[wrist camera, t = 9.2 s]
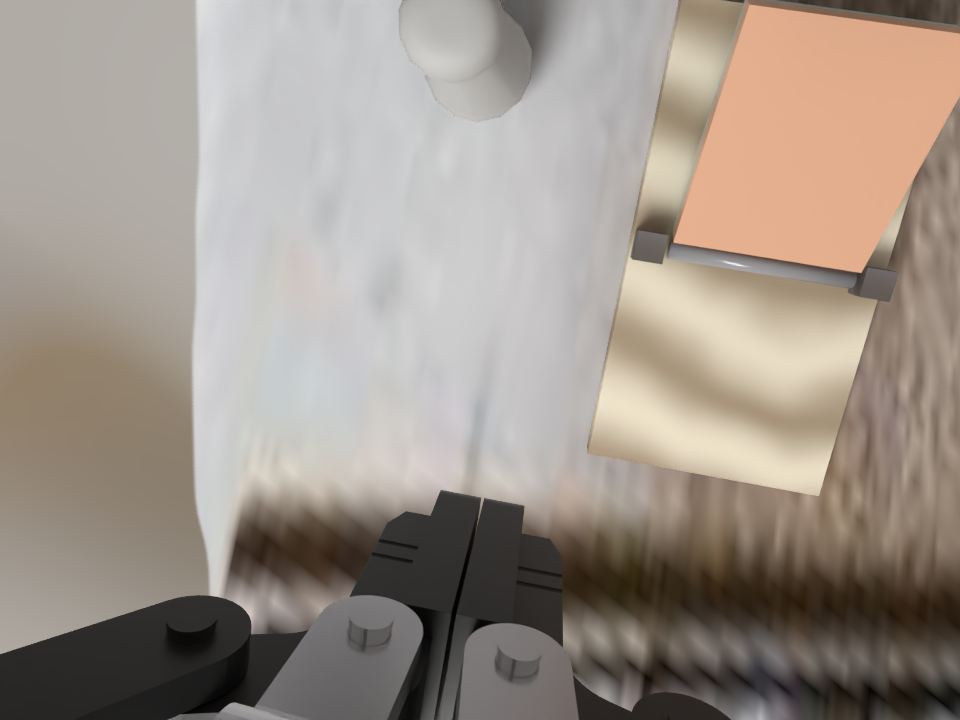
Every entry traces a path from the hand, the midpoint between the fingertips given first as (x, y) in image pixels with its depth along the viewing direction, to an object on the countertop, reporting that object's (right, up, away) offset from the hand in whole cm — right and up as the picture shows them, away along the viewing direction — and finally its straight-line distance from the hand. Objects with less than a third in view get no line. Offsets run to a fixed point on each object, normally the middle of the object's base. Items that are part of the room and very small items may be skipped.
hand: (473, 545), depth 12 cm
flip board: (+16, +9, +28) cm, 33 cm away
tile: (+16, +13, +22) cm, 30 cm away
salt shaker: (0, +20, +28) cm, 34 cm away
